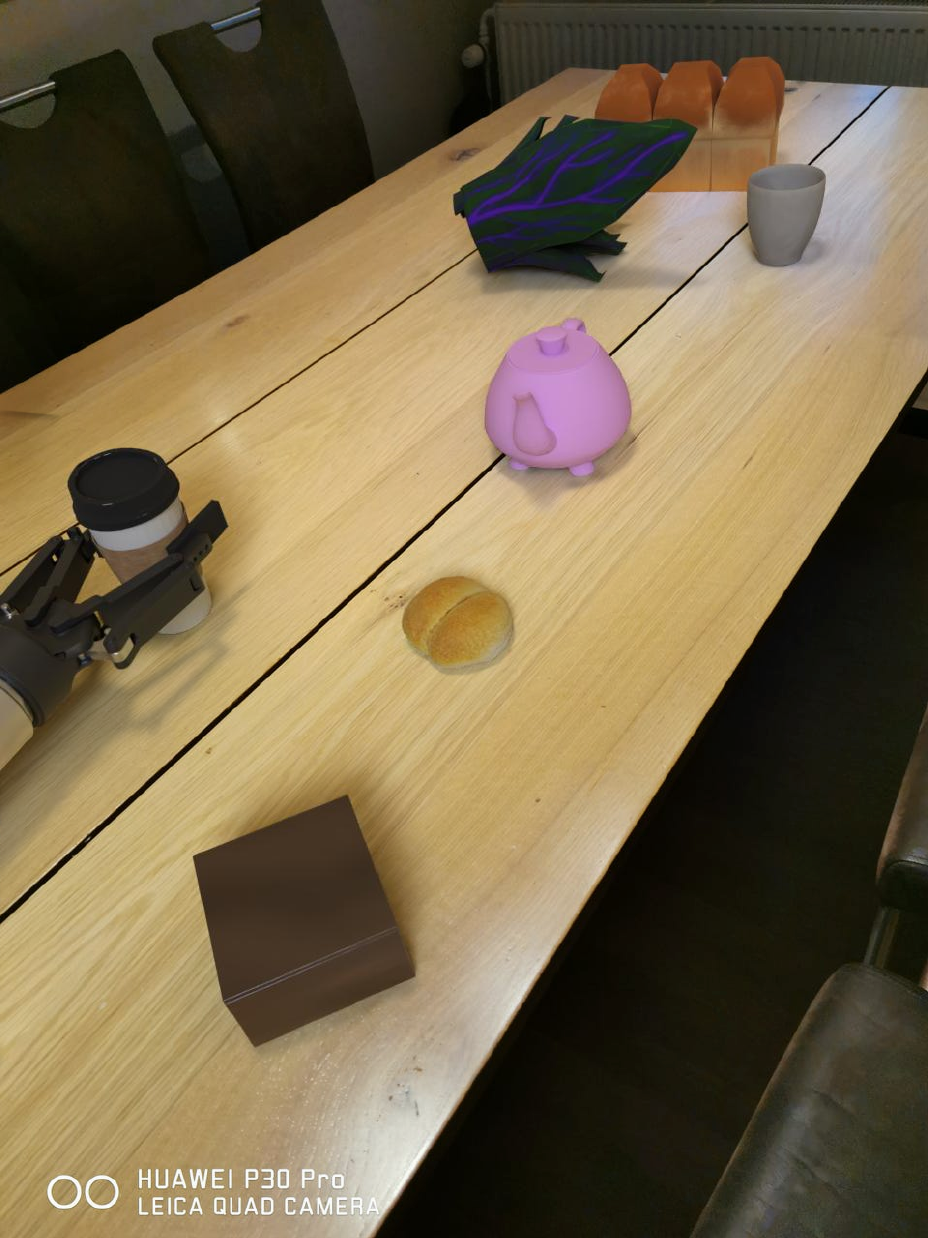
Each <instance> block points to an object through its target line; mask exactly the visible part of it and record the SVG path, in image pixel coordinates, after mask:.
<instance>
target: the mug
mask: <svg viewBox="0 0 928 1238" xmlns="http://www.w3.org/2000/svg"><path fill="white" fill-rule="evenodd" d="M826 183H827V176H826V174H825V171H824V170H822V169H821V168H819V167H817V166H814V165H810V164H804V163H781V164H775V165H774V166H769V167H765V168H762V169H760V170H758V171H756V172H754V173H753V174H752V175H751V176H750V178H749V180H748V186H747V191H746V217H747V226H748V231H749V236H750V239H751V243H752V245H753V248H754V250H755V253H756V259H757V261H758V262H760V263H761V264H763V265H766V266H770V267H783V266H785V267H786V266H791V265H794V264H796V263H797V262H799V261H800V260H801V259H802V257H803V254H804V252H805V250H806V248H807V246H808V245H809V243H810V241H811V239H812V237H813V235H814V233H815V230H816V229H817V225H818V222H819V219H820V215H821V211H822V208H823V203H824V198H825V191H826Z"/></svg>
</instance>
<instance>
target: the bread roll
mask: <svg viewBox="0 0 928 1238" xmlns="http://www.w3.org/2000/svg"><path fill="white" fill-rule="evenodd" d="M401 628H402V631H403V633H404V635H405V637H406V639H407V640H408V642H409V643H410V644H411V645H412V646H413V647H414V648H416V649H417V650H419V651H420V652H421V653H423V654H424V655H426V656H427V657H428V658H429V659H430V660H431V661H433V663H435V664H436V665H438V666H440V667H442V668H445V669H450V670H451V669H460V668H466V667H470V666H474V665H479V664H483V663H488V662H490V661H491V660H493V659H494V658H495V659H496V658H497V656H499V654H501V653H502V651H503V650H504V649H505V648H506V647H507V645H508V643H509V640H510V638H511V637H512V633H513V629H514V619H513V613H512V610H511V608H510V606H509V603H508V601H507V600H506V599H505V597H503V596H502V595H501V594H499V593H497V592H494V591H491V590H490V589H488V588H487V587H486V586H484V585H483V584H481V582H478V581H477V580H475V579H471V578H469V577H467V576H463V575H462V576H461V575H455V576H446V577H441V578H438V579H436V580H434V581H432V582H430V583H428V584H427V585H425V586H424V587H423V588H422V589H420V590H419V592H417V594H415V595H413V596H412V598H410V600H409V601H407V604H406V605H405V607H404V612H403V615H402V621H401Z"/></svg>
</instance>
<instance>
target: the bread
mask: <svg viewBox="0 0 928 1238" xmlns="http://www.w3.org/2000/svg"><path fill="white" fill-rule="evenodd" d="M784 75H785V74H784V72H783V71H782V68H781V65H780V64H779V63H777V62H776V61H775V60H774V59H773V58H771V57H770V56H756V57H755V56H754V57H741V58H740V59H738V60H737V62H735V63H734V65H733V66H732V67H731V68H730V70H729V72H728V74H727V76H726V78H725V80H724V76H723V73H722V69H721V68H720V67H719V65H717V64H716V63H715V62H714V61H713V60H712V59H709V60H694V61H693V60H692V61H676V62H674V63H673V65H672V66H671V67H670V70H669V71H668V73H667V75H666V76H665V79H664V78H663V76H662V73H661V72H660V71H659V70H658V69H656V68H655V67H654V66H651V65H650V64H649V63H648V62H646V63H645V62H644V63H629V64H628V63H626V64H621V65H620V66H619V67H618V69H617V70H616V72H615V73H614V74H613V75H612V76H611V78H610V79H609V81H608V83H607V84H606V85H605V86H604V87H603V89H602V90H601V93H600V96H599V98H598V102H597V104H596V108H595V110H594V118H593V119H603V120H615V121H626V122H638V123H642V122H647V121H652V120H656V119H666V118H674V119H680V120H682V121H684V122H686V123H688V124H690V125H692V126H694V127H696V128H698V130H697V132H696V134H695V136H694V137H693V139H692V141H691V143H690V145H689V147H688V149H687V150H686V152H685V153H684V155H683V156H682V158H681V159H680V160H679V162H678V163H677V164H676V166H675V167H674V168H673V169H672V170H671V171H670V172H669V173H668V174H666V175H665V176H664V177H663V178H662V179H660V180H659V181H658V182H657V183H656V184H655V185H654V186H653V187H652V188H651V189H650V190H649V191H647V192H646V193H674V192H675V193H677V192H679V193H680V192H682V193H683V192H685V193H686V192H687V193H688V192H747V186H748V180H749V178H750V176H751V175H752V174H753V173H754V172H756V171H758V170H760V169H762V168H765V167H769V166H774V165H776V162H777V157H778V156H777V155H778V144H779V143H778V142H779V132H780V131H779V130H780V121H781V116H782V113H783V109H784V107H785V100H786V99H785V97H786V95H785V94H786V93H785V92H786V78H785V76H784Z"/></svg>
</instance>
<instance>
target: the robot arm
mask: <svg viewBox="0 0 928 1238" xmlns="http://www.w3.org/2000/svg"><path fill="white" fill-rule="evenodd" d="M229 527H230V526H229V524H228V522H227V518H226V516H225V514H224V510H223V508H222V505H221V503H220V501H219V500H215V499H211V500H209V502H207V504H206V505H205V506H204V507H203V508H202V509H201V510H200V511H199V513H197V514H196V515H195V517H193V519H191V520H190V521H189V524H188V525H187V526H186V527H185V528H184V529H183V530H182V532H181V533H180V534H179V535H178V536H177V537H176V538H175V539H174V540H173V541H172V542H171V543H170V544H169V545H168V546H167V547H166V550H167V553H168V555H169V556H167V557H166V558H164V559H162V560H161V561H159V562H157V563H156V564H154V565H153V566H151V567H149V568H148V569H146V570H144V571H143V572H141V573H140V574H138V575H136V576H135V577H133V578H131V579H130V580H128V581H127V582H125V583H123V584H122V585H121V584H120V585H118V586H117V587H115V588H114V589H112V590H110V591H109V592H107V593H105V594H104V595H99V594H94V595H91V596H90V597H89V598H87V599H85V600H84V601H82V602H80V603H76V601H77V599H78V597H79V595H80V593H81V590H82V588H83V587H84V584H85V582H86V580H87V577H88V575H89V573H90V571H91V569H92V567H93V565H94V563H95V561H96V556H95V554H96V555H97V556H98V558H100V559H104V557H103V556H102V554H101V553H100V551H99V550H98V548H97V547H96V545H95V544H94V542H93V541H92V537H91V532H90V531H89V529H87V528H85V530H84V531H82V530H81V528H80V526H76V525H75V526H71V527H68V528H67V529H66V530H65V533H66V535H67V537H68V538H65V539H64V538H63V536H62V535H60V534H57V535H56V534H55V535H53V536H51V537H50V538H49V539H48V540H47V541H46V542H45V543H44V544H43V545H42V547H41V548H39V550H38V551H37V552H36V553H35V554H34V555H33V556H32V558H31V559H30V560H29V561H28V562H27V564H26V565H25V566H24V567H23V568H22V570H20V572H19V573H18V574H17V575H16V576H15V577H14V579H13V580H12V581H11V582H10V583H9V584H8V586H7V587H6V588H5V589H4V590H3V592H1V594H0V772H1V771H2V770H3V768H5V766H6V765H7V764H8V763H9V762H10V761H11V760H12V759H13V758H14V756H16V755H17V753H18V752H19V751H20V750H21V749H22V748H23V747H24V745H25V744H27V742H28V741H29V740H30V739H31V738H32V737H33V735H34V729H35V728H36V729H37V728H41V727H43V726H44V725H45V724H46V722H47V721H48V720H49V719H50V718H51V717H52V716H53V715H54V713H56V711H57V710H58V709H59V708H60V707H61V706H62V705H63V704H64V703H65V702H66V701H67V700H68V699H69V697H70V695H71V694H72V690H73V684H74V680H75V677H76V676H77V675H78V674H79V673H80V672H82V671H83V670H84V669H86V668H87V667H90V666H91V665H93V664H94V663H95V662H96V661H107V662H112V663H113V665H114V667H115V668H116V669H117V670H119V671H121V670H122V671H123V670H125V669H128V668H129V667H130V666H131V665H132V663H133V661H134V660H135V658H136V657H137V655H138V653H139V652H140V651H141V649H142V648H143V647H144V646H145V645H146V644H147V643H149V641H150V640H151V639H153V638H154V637H155V636H156V635H157V634H159V633H158V632H159V631H160V630H161V629H162V628H163V627H165V626H166V625H167V624H168V623H169V622H170V621H171V620H172V619H173V618H174V617H176V616H177V615H178V614H179V613H180V612H181V611H182V610H183V609H184V608H185V607H187V606H188V605H189V604H190V603H191V602H192V601H193V600H194V599H195V598H196V597H198V596H199V595H200V594H201V593H202V592H203V591H204V590H205V586H204V583H203V581H202V578H201V576H200V574H199V571H198V569H197V567H198V566H199V564H200V563H201V564H202V562H203V561H204V560H205V559H206V558H207V557H208V556H209V555H210V553H212V552H213V548H214V546H213V544H214V543H215V542H216V541H217V540H218V539H219V538H220V537H221V535H222V534H223V533H224V532H225V531H226V530H227V529H228V528H229ZM54 557H55V559H56V560H55V559H54ZM171 571H172V574H171ZM96 613H97V614H98V616H99V617H100V618H99V619H100V620H101V622H102V625H101V622H100V620H99V619H98V616H97V614H96Z"/></svg>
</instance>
